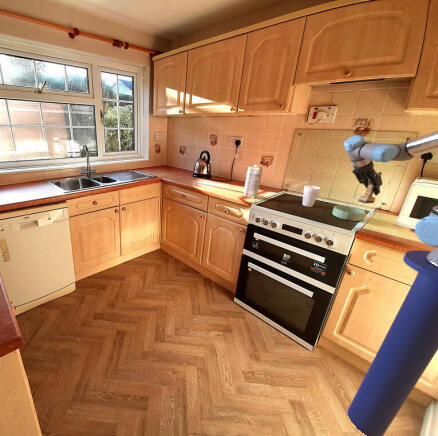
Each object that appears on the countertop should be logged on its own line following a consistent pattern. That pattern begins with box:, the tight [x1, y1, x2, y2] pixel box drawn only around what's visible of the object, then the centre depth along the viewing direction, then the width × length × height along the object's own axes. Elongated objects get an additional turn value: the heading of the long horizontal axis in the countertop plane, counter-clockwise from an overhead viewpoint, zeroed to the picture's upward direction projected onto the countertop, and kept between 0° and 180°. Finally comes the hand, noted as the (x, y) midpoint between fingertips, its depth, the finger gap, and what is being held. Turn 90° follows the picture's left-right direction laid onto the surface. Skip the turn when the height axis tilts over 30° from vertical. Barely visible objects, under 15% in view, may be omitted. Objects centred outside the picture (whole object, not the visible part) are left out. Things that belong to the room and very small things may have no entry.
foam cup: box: [301, 185, 322, 208], centre depth 168 cm, size 10×9×13 cm
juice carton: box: [243, 164, 263, 199], centre depth 183 cm, size 9×8×24 cm
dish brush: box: [357, 182, 376, 204], centre depth 131 cm, size 6×4×15 cm, turn 104°
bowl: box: [331, 204, 367, 222], centre depth 149 cm, size 15×16×5 cm
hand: (374, 192), depth 133 cm, fingers closed on dish brush, 2 cm apart
